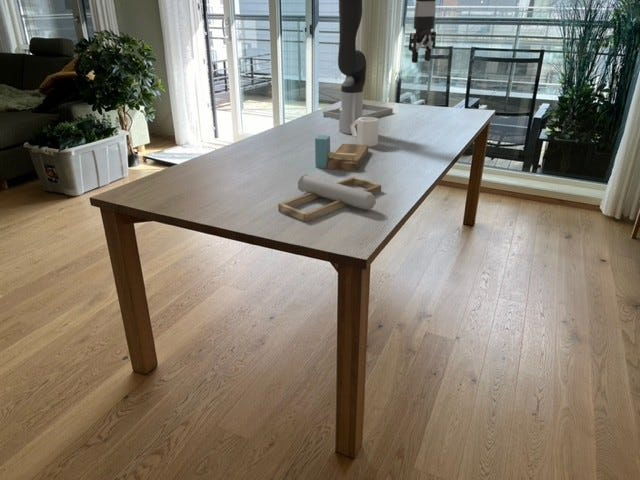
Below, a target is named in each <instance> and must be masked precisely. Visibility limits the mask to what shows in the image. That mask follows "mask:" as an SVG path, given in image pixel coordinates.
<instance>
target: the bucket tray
mask: <svg viewBox="0 0 640 480" xmlns="http://www.w3.org/2000/svg"><path fill="white" fill-rule="evenodd" d="M340 109H341V107H338V108H334V109H329V110H328V109H327V110H324V111H322V113H323V115H322V116H327V117H326V118H328V117H331V118H330V119H333V118H335V120H339V114H337V113H339V110H340ZM363 110H369V111H373V112H369V113H366V114H362V117H375V118H379V117H383V116H387V115H391V114H393V112H394V109H393V107H387V106H381V105H375V104H370V103H369V104H367V103H363Z"/></svg>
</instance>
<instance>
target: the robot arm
mask: <svg viewBox="0 0 640 480" xmlns="http://www.w3.org/2000/svg"><path fill="white" fill-rule="evenodd" d="M436 7H437V6H436V0H415V6H414V17H413V30H415V32H410V34H409V40H408V41H409V43H408V51H411V52H412V53H411V63H412V64H413V63H414V64H416V63H418V62H419V51H420V48H422V46H423V47H424V49H425V50H424V61H425V62H430V61H431V57H432V56H431V55H432V51H433V49H436V40H437V39H436V38H437V32H436V31H432V30H434V29H435V19H436V11H437V10H436V9H437V8H436ZM338 15H339V17H338V18H339V19H338V20H339V22H338V23H339V24H338V25H339V26H338V29H339V31H338V32H339V37H338V38H339V42H338V52H337V53H338V54H337V55H338V56H337V64H338V65H337V66H338V69H339V71H340V73H341V74H343V75H344V76H345V79H344V81H343V83H342V84H341V89H340V91H341V92H340V93H341V94H340V97H341V98H340V99H341V100H340V104H341V105H340V108H341V109H340V110H339V119H338V120H339V121H338V122H339V123H338V124H339V125H338V126H339V127H338V128H339V130H338V131H339V132H341V133H342V134H346V135H350V134H351V135H352V132H351V128H350V126H351V124H352V123H353V122H354V121H355V120H358V118H361V117H362V115H363V111H364V109H363V104H364V103H363V102H364V87H365V83H366V74H367V61H366V60H367V59H366V55H365V54H364V53H363V52H362V51H361V50H359V49H358V50H357V34H358V30H359V28H360V25H361V21H362V17H363V0H338ZM355 129H356V133H357V124H356V125H355Z"/></svg>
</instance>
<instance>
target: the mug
mask: <svg viewBox="0 0 640 480" xmlns="http://www.w3.org/2000/svg"><path fill="white" fill-rule="evenodd" d="M379 122H380V119H379V117H376V118H375V117H361V118H358V120H355V121H354V122H353V123H352V124H351V126H350V128H351V132H352V134H351V137H353V138H356V144H358V145H368V147H374V146H377V145H378V143H379V141H378V140H379ZM356 124H357V133H356V129H355V125H356Z"/></svg>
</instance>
